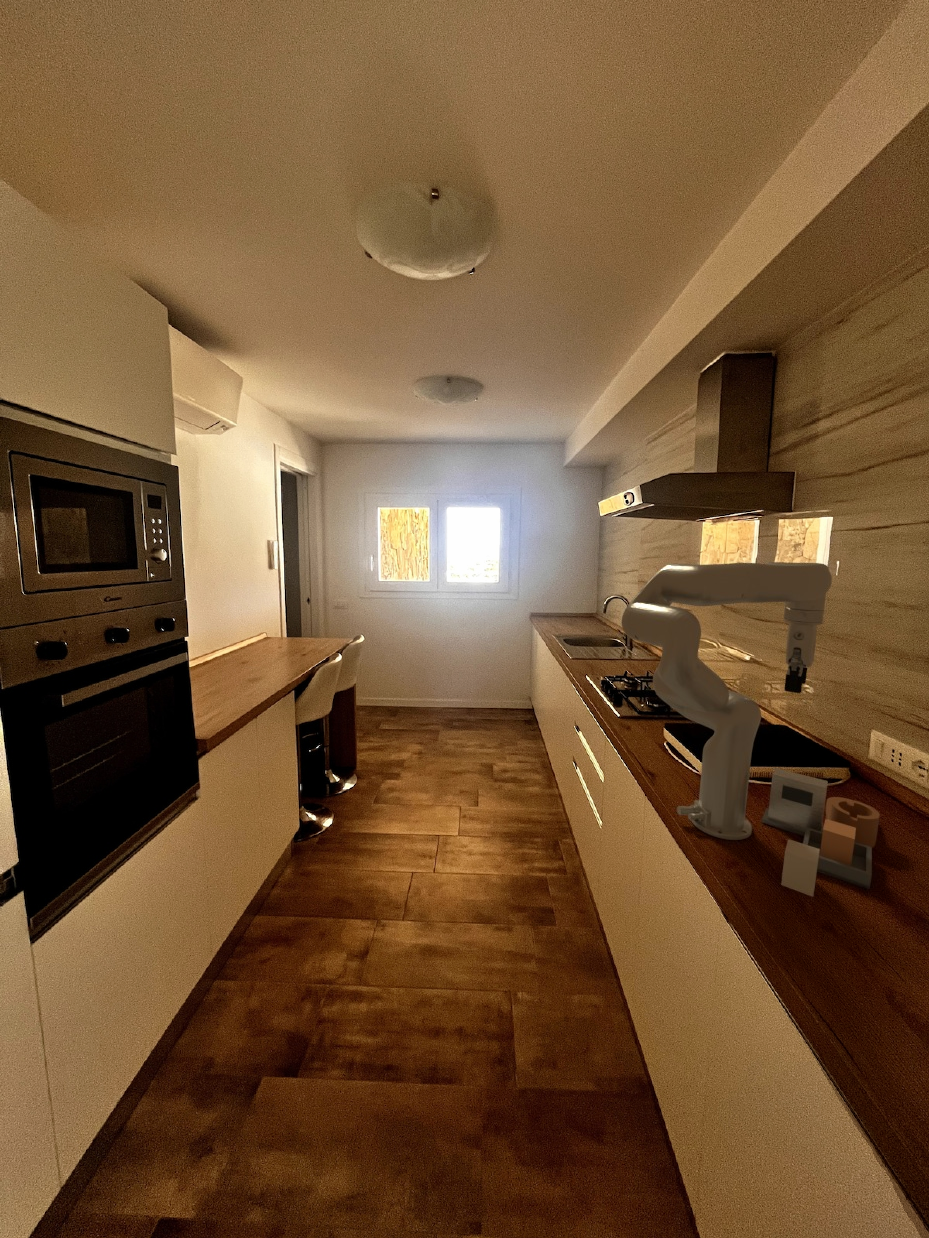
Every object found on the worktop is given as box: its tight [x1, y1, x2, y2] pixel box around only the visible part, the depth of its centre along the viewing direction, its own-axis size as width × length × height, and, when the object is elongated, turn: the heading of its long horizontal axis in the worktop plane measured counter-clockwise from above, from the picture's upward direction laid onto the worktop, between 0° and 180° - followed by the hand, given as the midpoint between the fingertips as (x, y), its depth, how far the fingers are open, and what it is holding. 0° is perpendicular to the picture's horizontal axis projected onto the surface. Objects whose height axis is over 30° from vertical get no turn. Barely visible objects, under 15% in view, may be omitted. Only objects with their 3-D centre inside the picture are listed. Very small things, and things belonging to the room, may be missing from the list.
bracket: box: [825, 796, 881, 848], centre depth 112 cm, size 18×8×7 cm, turn 147°
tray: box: [802, 828, 873, 890], centre depth 100 cm, size 11×11×3 cm
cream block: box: [781, 839, 820, 897], centre depth 93 cm, size 5×5×7 cm
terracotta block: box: [820, 818, 856, 866], centre depth 99 cm, size 5×5×7 cm
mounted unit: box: [761, 767, 829, 837], centre depth 111 cm, size 12×6×12 cm, turn 51°
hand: (795, 687), depth 117 cm, fingers open, 9 cm apart
